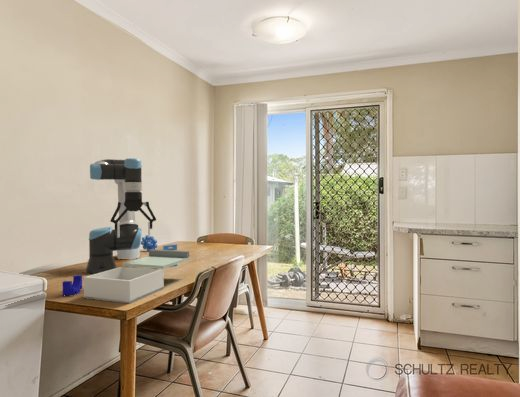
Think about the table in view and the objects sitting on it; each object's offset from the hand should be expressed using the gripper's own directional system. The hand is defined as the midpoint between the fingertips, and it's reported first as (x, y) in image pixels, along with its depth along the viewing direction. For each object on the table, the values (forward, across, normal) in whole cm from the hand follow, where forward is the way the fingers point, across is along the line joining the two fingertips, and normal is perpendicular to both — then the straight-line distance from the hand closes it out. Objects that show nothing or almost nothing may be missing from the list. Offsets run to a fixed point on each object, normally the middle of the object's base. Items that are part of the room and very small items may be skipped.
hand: (134, 236), depth 168 cm
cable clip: (+22, -24, -10) cm, 34 cm away
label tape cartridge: (+22, +18, +33) cm, 43 cm away
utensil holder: (+22, -5, +70) cm, 74 cm away
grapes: (+22, +8, +93) cm, 96 cm away
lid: (+12, +10, -3) cm, 16 cm away
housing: (+21, -3, -20) cm, 29 cm away
